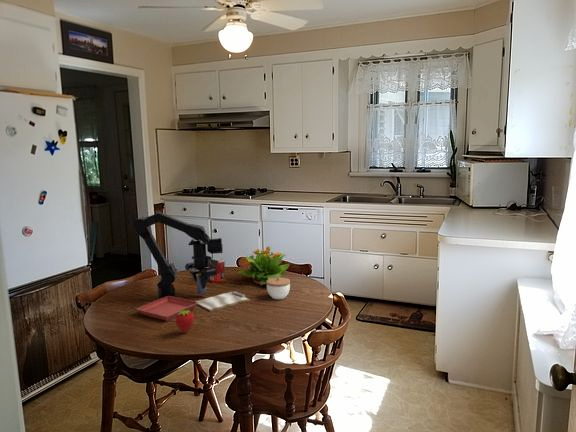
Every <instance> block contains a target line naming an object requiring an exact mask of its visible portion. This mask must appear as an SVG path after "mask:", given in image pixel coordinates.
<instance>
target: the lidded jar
mask: <svg viewBox="0 0 576 432" xmlns="http://www.w3.org/2000/svg"><path fill="white" fill-rule="evenodd" d="M265 285H266V290H267V293H268V295H269V296H270V297H271V298H272V299H273V300H284V299H285V298H286V297H287V295H289V293H290V289H291V280H290V278H286V277H282V276H280V277H277V278H271V279H268V280H267V281H266V284H265Z"/></svg>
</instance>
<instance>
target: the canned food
mask: <svg viewBox="0 0 576 432" xmlns="http://www.w3.org/2000/svg"><path fill="white" fill-rule="evenodd" d="M213 259H214V260H217V261H218V265H217V268H216V267H213V266H210V267H211V268H214V269H216V270H217V275H213V276H209V281H210V283H216V284H217V283H223V282H225V281H226V263H225V262H226V261H225V258H223V257H217V258H214V257H213ZM210 267H208V268H210Z"/></svg>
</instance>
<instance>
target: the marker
mask: <svg viewBox="0 0 576 432" xmlns="http://www.w3.org/2000/svg"><path fill="white" fill-rule="evenodd" d="M198 275H201V273H197V274H196V277H197V284H196V286H197V287H196V288H197V289H196V293H197V295H205V294H207V286H206V287H205V289H203V288H202V285H201V283H200V280H199V277H198Z"/></svg>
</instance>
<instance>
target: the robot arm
mask: <svg viewBox="0 0 576 432" xmlns="http://www.w3.org/2000/svg"><path fill="white" fill-rule="evenodd" d="M157 223H160V224H162V225H165V226H168V227H169V228H173V229H174V230H177V231H180V232H183V233H184V234H186V235H187V236H188V237H190V238H192V239H191V240H190V241H189V242H188V246H192V249H193V250H192V252H193V255H192V256H191V260H193V262H187V263H186V264H185V266H184V267H185V271H189V273H190V275H191V277H192V278H193V281H194V282H195V283H196V285H197V277H196V274H197V273H201V275H198V277H199V280H200V283H201V285H202V288H203V289H205V287H206V288H207V283H208V280H209V279H210V276H213V275H217V270H216V269H214V268H211V267H210V266H213V267H216V268H217V265H218V261H217V260H214V258H212V256H210V255H211V254H223V252H224V249H223V242H222V241H223V240H222V238H221V237H218V238H211V237H210V236H209V235H208V233H206V229H205V227H204V226H202V225H198V224H195V223H187V222H184V221H182V220H179V219H177V218H176V217H175V218H174V217H172V216H170V215H168V214H166V213H165V214H164V213H163V212H160V211H159V212H156V213H154V214H151V215H149V216H146V217H144V216H141V217H138V218H137V219H136V220H134V221H133V224H132V228H133V230H134V231H135V232H136V234H137V235H138V236H139V237H141V238H142V239H143V241H144V243H145V244H146V246H147V248H148V250H149V251H150V254H151V256H152V258H153V259H154V261H155V263H156V264H157V266H158V269H159V275H160V279H159V281H158V282H157V284H156V285H157V297H156V299H157V300H159V299H161V298H164V297H166V296H172V297H176V288H175V287H174V284H173V283H174V282H175V280H176V278H177V276H178V272H177V271H178V269H177V268H176V266H175V264H174V262H172V263H169V262H168V261H167V259H166V257H165V255H164V253H163V251H162V250H161V247H160V245H159V244H158V242H157V240H156V239H155V236H154V235H153V232H152V231H153V230H152V227H151V226H153V225H156V224H157ZM207 252H208V253H209V254H210V255H207ZM209 267H210V268H209Z"/></svg>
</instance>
